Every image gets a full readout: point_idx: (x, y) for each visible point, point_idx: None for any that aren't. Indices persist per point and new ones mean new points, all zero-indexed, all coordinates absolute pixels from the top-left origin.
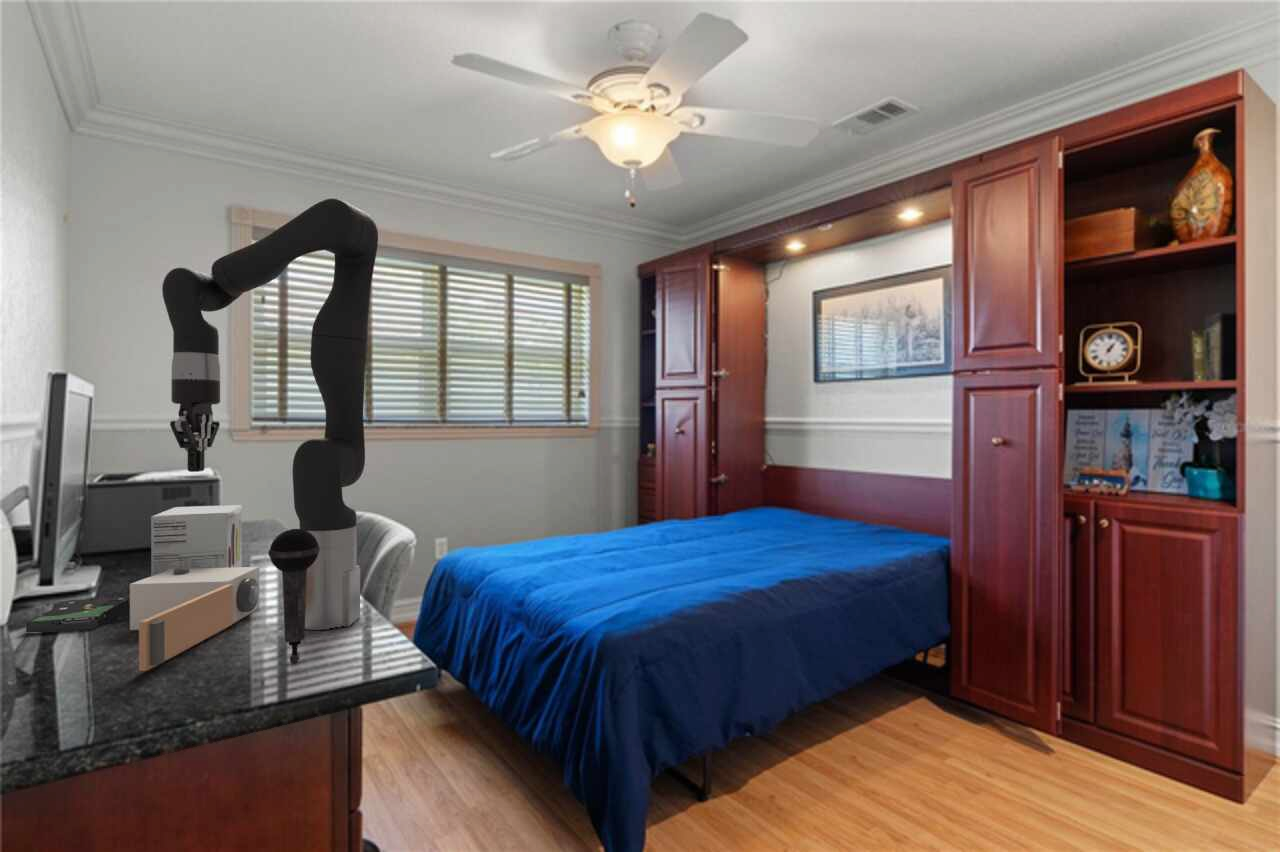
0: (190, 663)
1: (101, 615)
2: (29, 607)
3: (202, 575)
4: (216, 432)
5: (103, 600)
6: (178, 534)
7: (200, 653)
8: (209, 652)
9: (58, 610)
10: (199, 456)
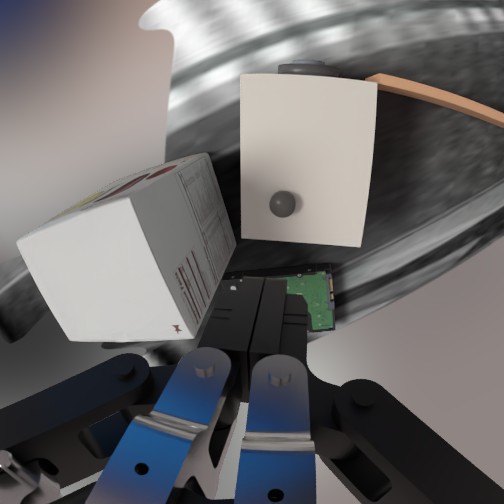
0: (494, 90)
1: (317, 271)
2: None
3: (313, 152)
4: (12, 408)
5: None
6: (190, 270)
7: (467, 88)
8: (465, 79)
9: None
10: (279, 335)
